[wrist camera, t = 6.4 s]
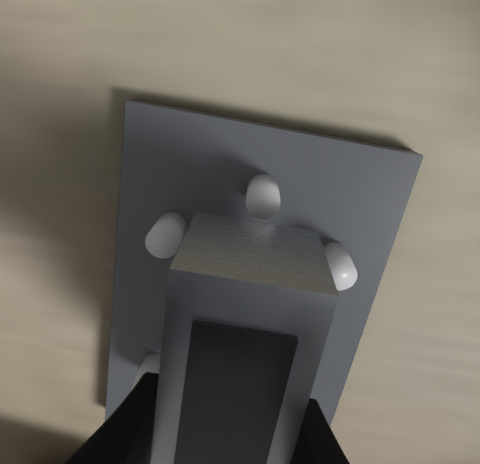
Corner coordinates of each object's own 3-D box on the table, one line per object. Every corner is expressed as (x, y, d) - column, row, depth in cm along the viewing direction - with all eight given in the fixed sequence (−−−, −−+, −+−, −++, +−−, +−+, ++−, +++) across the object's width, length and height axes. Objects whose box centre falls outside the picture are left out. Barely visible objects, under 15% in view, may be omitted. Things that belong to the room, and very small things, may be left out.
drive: (317, 231, 13) (340, 300, 9) (268, 431, 16) (268, 541, 13) (196, 211, 13) (167, 271, 9) (171, 415, 16) (143, 521, 13)
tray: (414, 151, 16) (443, 166, 13) (314, 446, 21) (321, 498, 19) (133, 99, 15) (107, 103, 13) (111, 411, 21) (90, 458, 19)
